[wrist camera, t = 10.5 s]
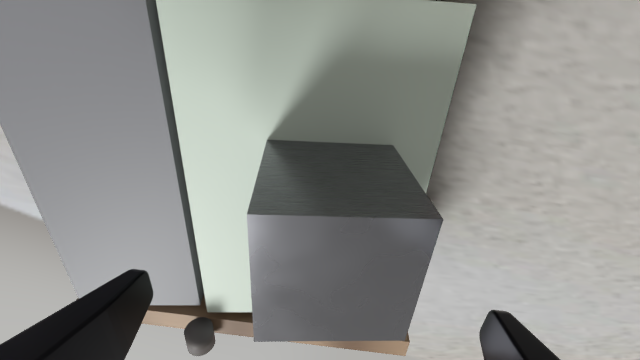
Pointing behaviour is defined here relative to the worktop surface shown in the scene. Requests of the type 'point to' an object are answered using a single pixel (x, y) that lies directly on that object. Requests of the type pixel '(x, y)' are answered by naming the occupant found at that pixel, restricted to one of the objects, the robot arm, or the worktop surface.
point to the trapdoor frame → (239, 329)
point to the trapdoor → (205, 118)
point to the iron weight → (337, 242)
